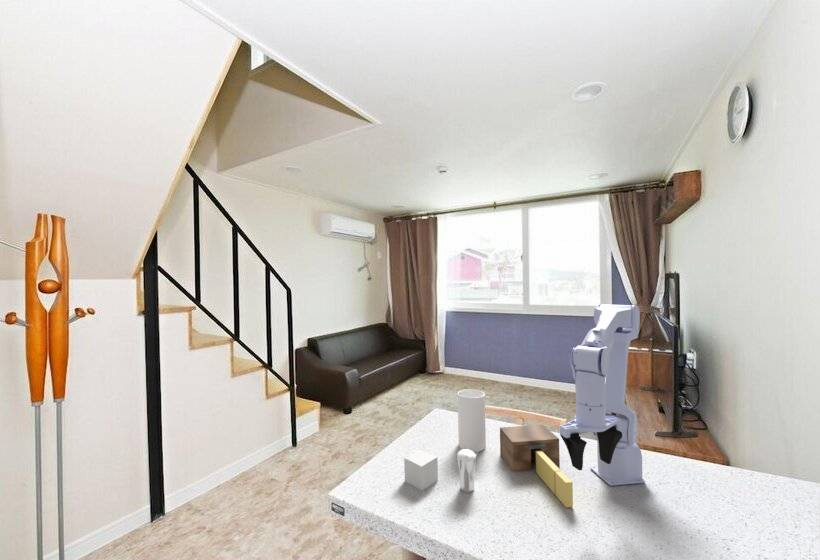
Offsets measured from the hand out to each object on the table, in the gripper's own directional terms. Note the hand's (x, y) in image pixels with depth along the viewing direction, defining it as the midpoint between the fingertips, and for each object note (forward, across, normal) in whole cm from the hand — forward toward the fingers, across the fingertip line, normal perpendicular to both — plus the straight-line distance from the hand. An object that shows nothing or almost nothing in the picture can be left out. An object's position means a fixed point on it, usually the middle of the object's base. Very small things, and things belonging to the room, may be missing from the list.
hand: (591, 464), depth 74 cm
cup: (+11, +11, -36) cm, 39 cm away
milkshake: (+11, +21, -16) cm, 29 cm away
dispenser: (+10, 0, -22) cm, 25 cm away
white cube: (+11, +31, -23) cm, 40 cm away
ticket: (+10, +2, -10) cm, 14 cm away
